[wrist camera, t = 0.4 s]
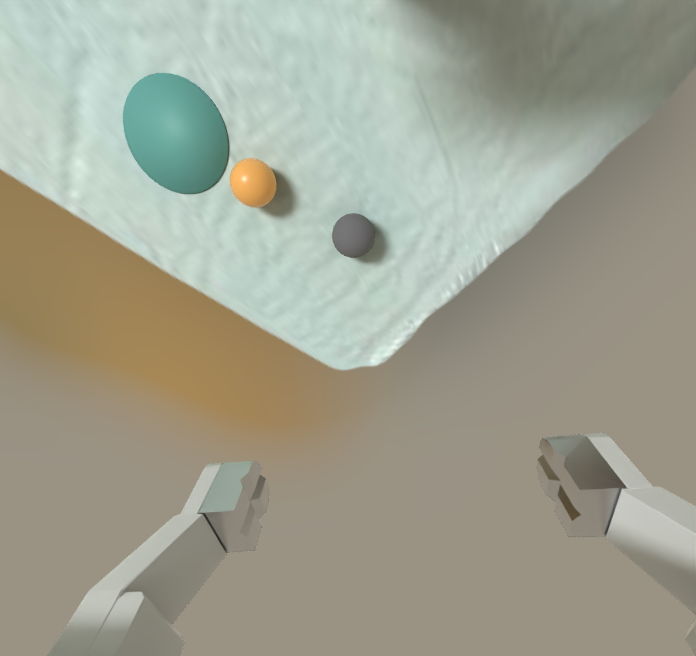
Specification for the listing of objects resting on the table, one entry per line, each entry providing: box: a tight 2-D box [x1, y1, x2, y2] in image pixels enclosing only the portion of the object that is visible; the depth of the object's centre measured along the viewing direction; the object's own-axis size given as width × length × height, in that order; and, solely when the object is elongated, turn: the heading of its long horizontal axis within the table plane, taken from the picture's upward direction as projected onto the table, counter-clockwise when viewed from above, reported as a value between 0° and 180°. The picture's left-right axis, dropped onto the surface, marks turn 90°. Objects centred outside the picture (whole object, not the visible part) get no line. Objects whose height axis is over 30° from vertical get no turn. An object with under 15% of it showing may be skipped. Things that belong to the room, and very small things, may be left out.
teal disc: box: [123, 73, 229, 194], centre depth 44 cm, size 14×14×1 cm
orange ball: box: [230, 158, 277, 207], centre depth 44 cm, size 6×6×6 cm
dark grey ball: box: [332, 214, 375, 258], centre depth 46 cm, size 6×6×6 cm
